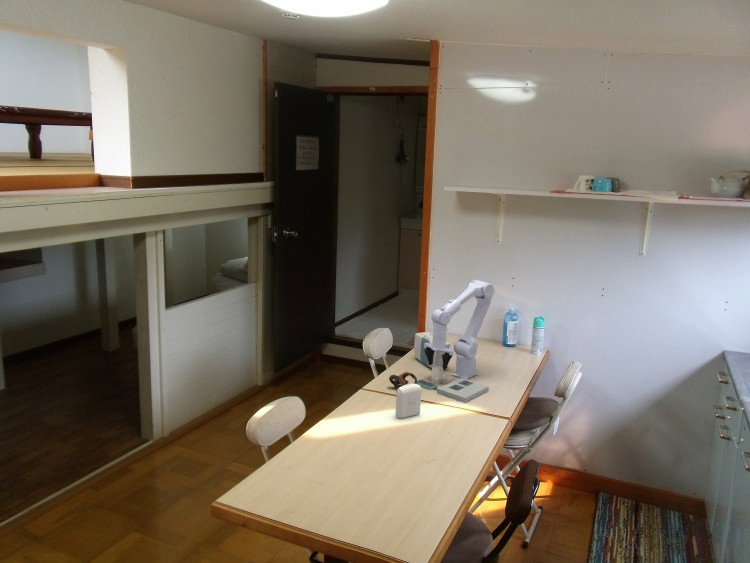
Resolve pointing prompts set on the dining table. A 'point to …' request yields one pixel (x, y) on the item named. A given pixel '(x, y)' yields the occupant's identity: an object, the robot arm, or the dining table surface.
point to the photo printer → (408, 400)
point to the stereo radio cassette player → (419, 348)
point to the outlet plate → (462, 390)
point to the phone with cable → (427, 384)
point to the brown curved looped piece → (401, 379)
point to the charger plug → (437, 374)
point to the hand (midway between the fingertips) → (437, 366)
